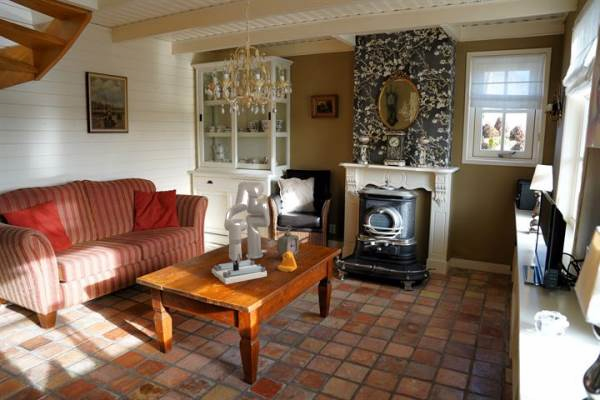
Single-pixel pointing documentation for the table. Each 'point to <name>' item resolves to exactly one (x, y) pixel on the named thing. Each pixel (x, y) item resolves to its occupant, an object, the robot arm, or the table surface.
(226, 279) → the board
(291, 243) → the tabletop clock
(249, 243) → the robot arm
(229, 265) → the lever
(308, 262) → the table surface
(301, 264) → the table surface
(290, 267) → the bracket
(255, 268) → the lever
